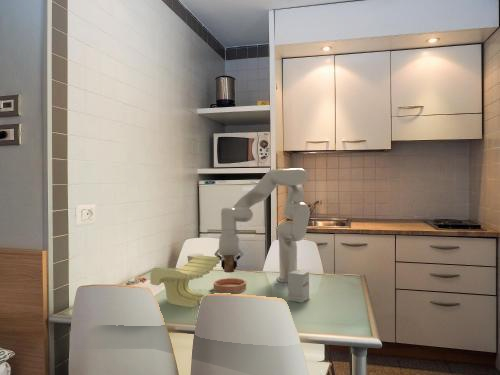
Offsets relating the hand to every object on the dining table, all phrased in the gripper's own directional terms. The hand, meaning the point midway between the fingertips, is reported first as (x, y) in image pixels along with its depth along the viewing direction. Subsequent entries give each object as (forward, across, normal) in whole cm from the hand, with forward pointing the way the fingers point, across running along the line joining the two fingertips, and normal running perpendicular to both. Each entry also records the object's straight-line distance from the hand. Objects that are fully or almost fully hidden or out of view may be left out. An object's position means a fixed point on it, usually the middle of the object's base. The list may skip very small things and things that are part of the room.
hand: (229, 268), depth 201 cm
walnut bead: (+2, 0, 0) cm, 2 cm away
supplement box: (+11, -33, +17) cm, 39 cm away
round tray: (+11, 0, 0) cm, 11 cm away
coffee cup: (+11, +22, -27) cm, 36 cm away
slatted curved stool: (+11, +18, +18) cm, 27 cm away
